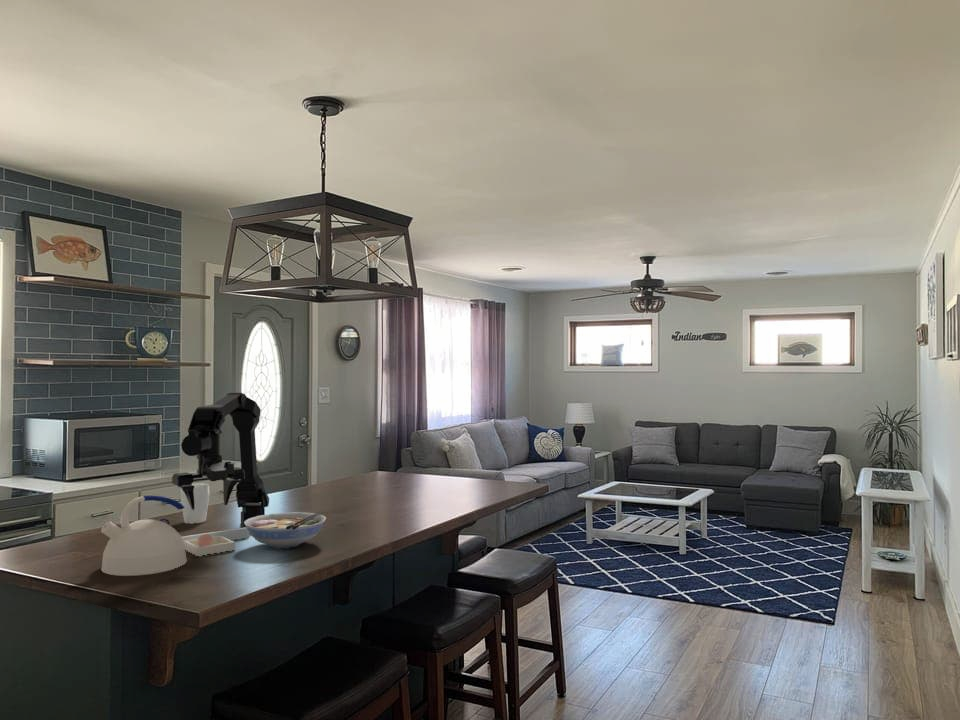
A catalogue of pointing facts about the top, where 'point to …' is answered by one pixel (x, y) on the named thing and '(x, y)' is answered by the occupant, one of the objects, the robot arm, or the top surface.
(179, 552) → the kettle
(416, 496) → the top surface
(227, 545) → the dish
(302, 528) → the ramen bowl
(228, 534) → the wall
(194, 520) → the cup
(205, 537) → the ball
